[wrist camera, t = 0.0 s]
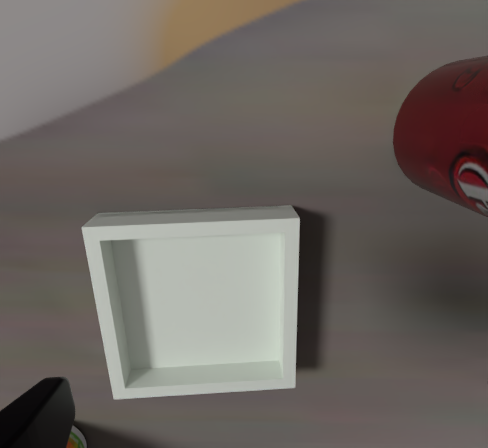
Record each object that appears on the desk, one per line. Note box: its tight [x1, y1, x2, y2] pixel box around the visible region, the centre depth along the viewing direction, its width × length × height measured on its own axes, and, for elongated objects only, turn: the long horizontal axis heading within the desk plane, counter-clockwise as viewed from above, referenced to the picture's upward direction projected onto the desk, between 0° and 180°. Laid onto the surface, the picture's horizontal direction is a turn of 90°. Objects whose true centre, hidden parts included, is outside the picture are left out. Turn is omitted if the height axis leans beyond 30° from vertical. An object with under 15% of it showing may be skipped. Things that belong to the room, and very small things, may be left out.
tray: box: [82, 205, 300, 399], centre depth 22 cm, size 12×12×2 cm
